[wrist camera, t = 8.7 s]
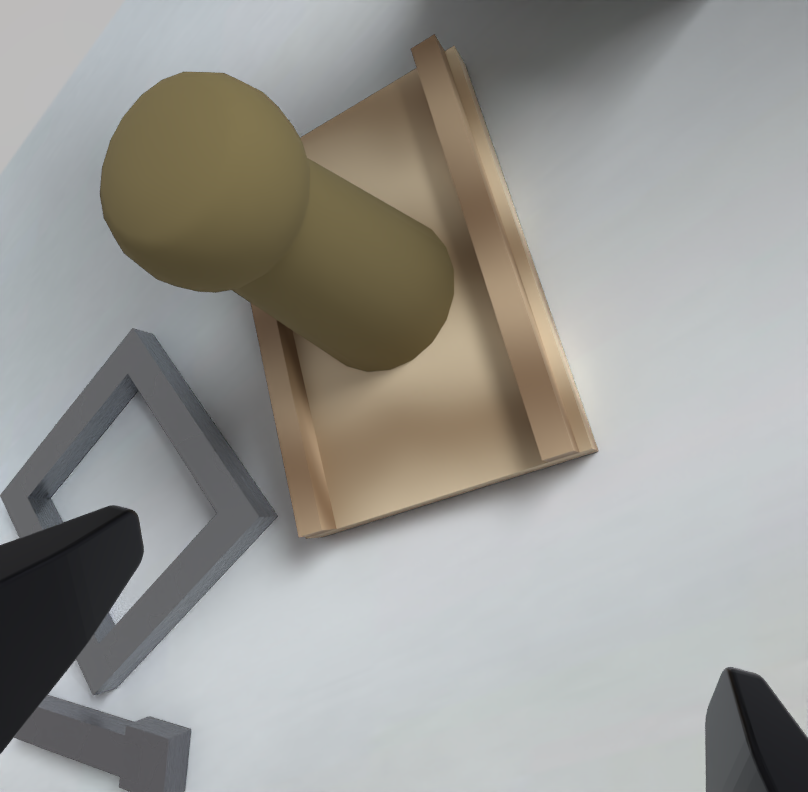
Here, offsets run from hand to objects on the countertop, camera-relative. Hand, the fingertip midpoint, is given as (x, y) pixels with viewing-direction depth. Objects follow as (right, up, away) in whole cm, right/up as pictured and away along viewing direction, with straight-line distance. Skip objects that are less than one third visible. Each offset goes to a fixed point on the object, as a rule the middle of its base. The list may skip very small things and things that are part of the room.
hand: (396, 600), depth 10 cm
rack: (0, +7, +16) cm, 17 cm away
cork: (-1, +7, +15) cm, 16 cm away
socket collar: (-12, -2, +20) cm, 24 cm away
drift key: (-14, -12, +19) cm, 26 cm away
